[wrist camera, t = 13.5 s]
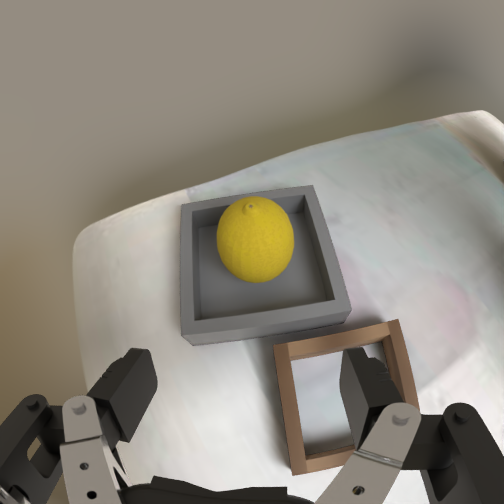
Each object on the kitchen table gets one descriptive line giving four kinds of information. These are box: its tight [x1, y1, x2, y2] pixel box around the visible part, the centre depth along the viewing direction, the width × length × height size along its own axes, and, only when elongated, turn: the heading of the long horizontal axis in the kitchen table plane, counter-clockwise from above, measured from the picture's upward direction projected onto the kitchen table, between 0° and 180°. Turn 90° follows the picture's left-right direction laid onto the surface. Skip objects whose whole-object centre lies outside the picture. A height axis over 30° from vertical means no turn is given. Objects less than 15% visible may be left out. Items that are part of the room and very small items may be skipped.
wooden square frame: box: [273, 319, 420, 476], centre depth 18 cm, size 10×10×2 cm
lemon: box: [217, 196, 294, 283], centre depth 21 cm, size 6×6×8 cm
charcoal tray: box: [180, 185, 352, 346], centre depth 24 cm, size 12×12×3 cm
